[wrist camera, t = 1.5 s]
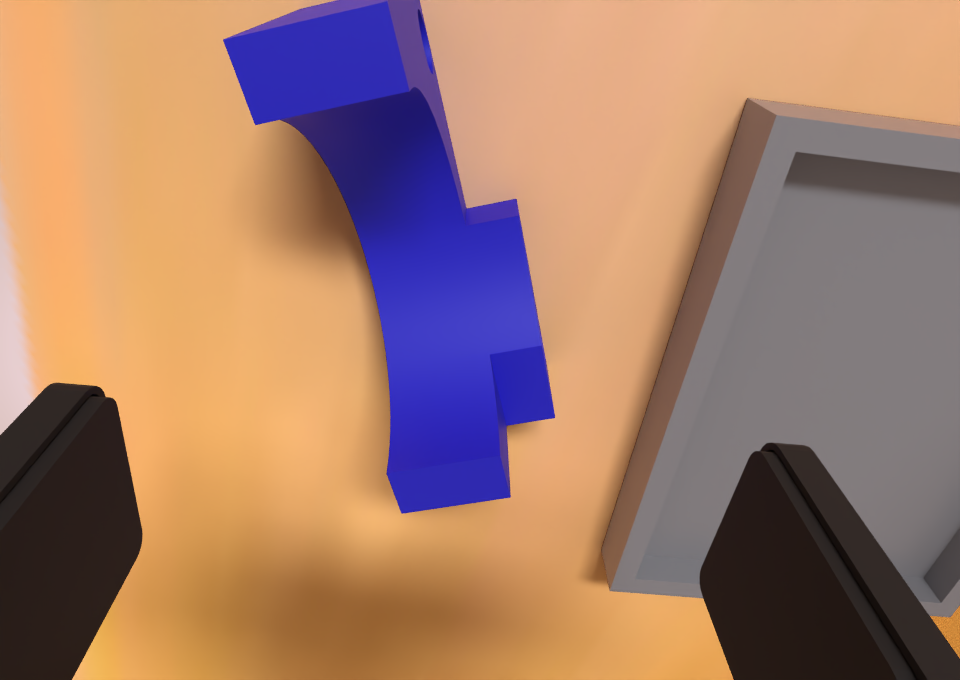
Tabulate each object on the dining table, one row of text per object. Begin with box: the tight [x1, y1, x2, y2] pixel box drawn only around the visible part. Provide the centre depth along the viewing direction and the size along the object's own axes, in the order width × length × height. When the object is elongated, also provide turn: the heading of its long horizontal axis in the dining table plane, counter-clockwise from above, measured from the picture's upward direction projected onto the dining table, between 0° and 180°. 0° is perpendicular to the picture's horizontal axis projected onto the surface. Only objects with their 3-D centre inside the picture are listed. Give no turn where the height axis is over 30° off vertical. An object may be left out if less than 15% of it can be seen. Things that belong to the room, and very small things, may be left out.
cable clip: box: [223, 0, 555, 514], centre depth 17 cm, size 12×4×6 cm, turn 12°
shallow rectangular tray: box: [601, 98, 960, 617], centre depth 22 cm, size 14×18×2 cm
